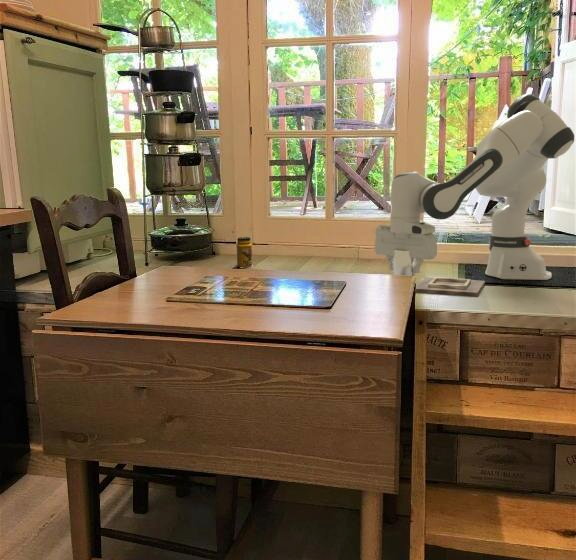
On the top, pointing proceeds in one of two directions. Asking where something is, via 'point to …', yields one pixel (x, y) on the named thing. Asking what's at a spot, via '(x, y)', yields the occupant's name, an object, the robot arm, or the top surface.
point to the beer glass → (403, 263)
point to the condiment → (244, 253)
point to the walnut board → (450, 286)
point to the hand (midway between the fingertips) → (404, 271)
